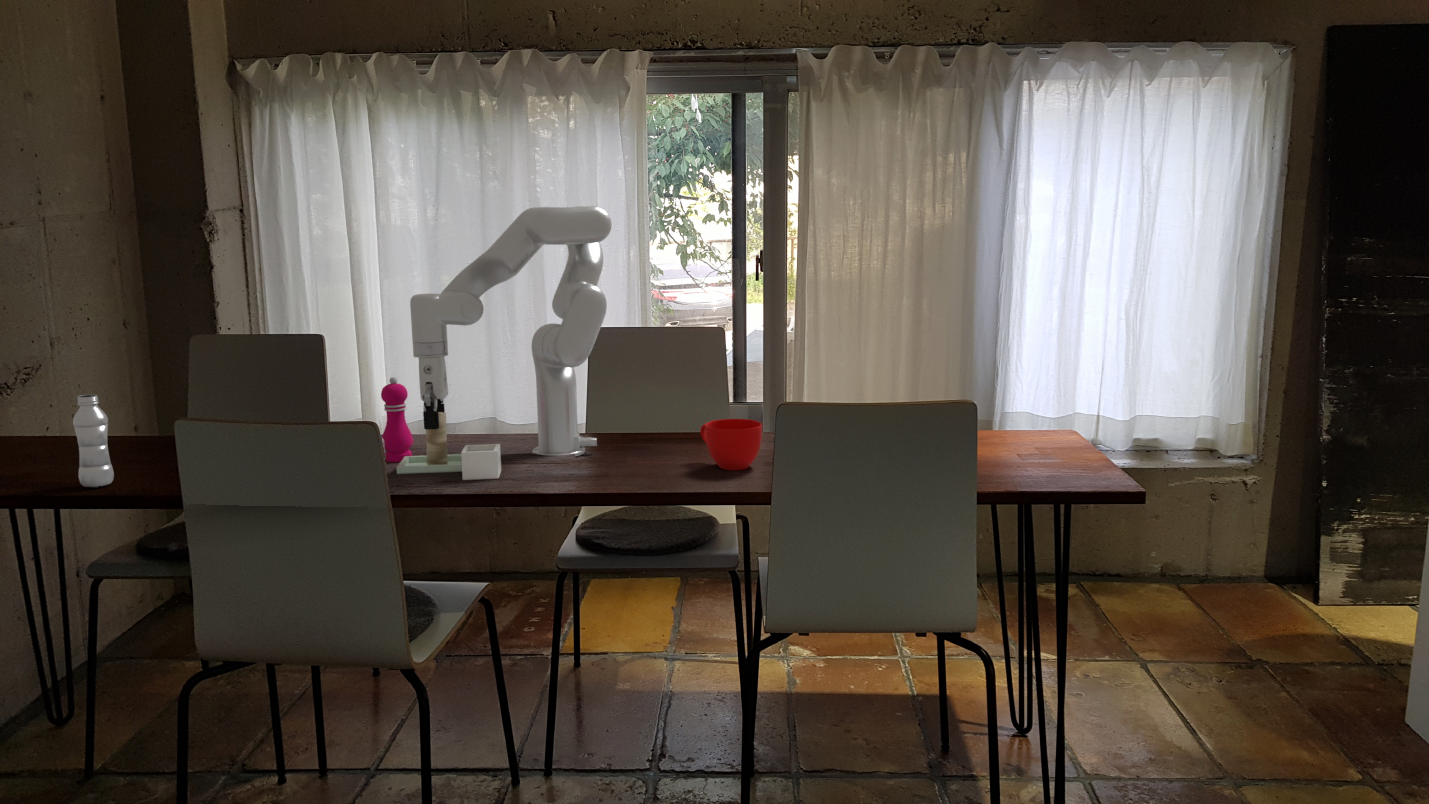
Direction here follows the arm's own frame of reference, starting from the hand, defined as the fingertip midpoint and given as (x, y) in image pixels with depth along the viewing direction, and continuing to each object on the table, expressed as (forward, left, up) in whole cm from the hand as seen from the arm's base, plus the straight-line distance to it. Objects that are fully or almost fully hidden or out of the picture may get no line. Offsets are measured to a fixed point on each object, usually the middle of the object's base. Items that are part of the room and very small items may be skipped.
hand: (434, 424), depth 237 cm
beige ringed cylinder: (0, 0, -9) cm, 9 cm away
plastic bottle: (+72, +2, -11) cm, 73 cm away
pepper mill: (+11, -14, -11) cm, 21 cm away
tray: (0, 0, -11) cm, 11 cm away
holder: (-11, +10, -11) cm, 18 cm away
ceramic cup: (-66, +6, -11) cm, 67 cm away
